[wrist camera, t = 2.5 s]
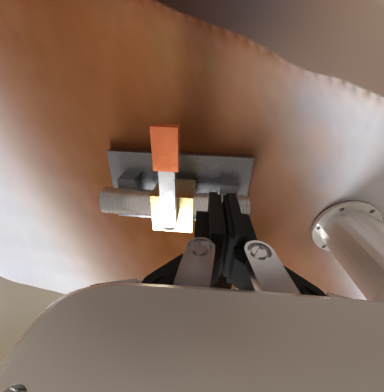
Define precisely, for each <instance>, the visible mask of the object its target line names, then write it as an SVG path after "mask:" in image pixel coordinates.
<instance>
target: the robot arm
mask: <svg viewBox="0 0 384 392" xmlns="http://www.w3.org/2000/svg"><path fill="white" fill-rule="evenodd" d="M311 237H312V239H313V241H314V242H315V244H316V245H317V246H318V247H319V248H321V249H323V250H325V251H329V252H332V253H333V255H334V256H335V257H336V259H337V260H338V261H339V263H340V264H341V265H342V267H343V268H344V269H345V271H346V272H347V273H348V275H349V276H350V277H351V279H352V280H353V281H354V283H355V284H356V285H357V287H358V288H359V289H360V291H361V292H362V293H363V295H364V296H365V297H366V299H367V300H368V301H367V300H359V299H352V298H348V297H344V296H340V295H336V294H333V293H329V292H328V293H327V295H326V294H324V292H323V291H321V290H320V289H319V288H318V287H316V286H315V285H313V284H311V283H310V282H308V281H307V280H305V279H304V278H302V277H301V276H299V275H297V274H296V273H294V272H293V271H291V270H290V269H288V268H287V267H285V266H283V264H282V263H281V261H280V259H279V258H278V256H277V255H276V253H275V251H274V250H273V249H272V247H271V246H269V245H268V244H266V243H264V242H262V241H257V238H256V235H255V232H254V229H253V226H252V223H251V220H250V217H249V215H248V214H242V213H241V210H240V206H239V203H238V199H237V196H236V193H227V194H226V195H223V201H222V198H221V195H218V192H209V199H208V211H196V223H195V236H194V238H192V239H191V240H189V241H188V243H187V244H186V247H185V250H184V253H183V254H181V255H180V256H178V257H176V258H175V259H173V260H172V261H170V262H168V263H167V264H165V265H164V266H162V267H160V268H159V269H157V270H156V271H154V272H152V273H151V274H149V275H148V276H147V277H145V278H144V280H139V281H138V280H137V278H136V279H128V280H121V281H114V282H106V283H99V284H94V285H91V286H89V287H86V288H82V289H78V290H76V291H73V292H70V293H68V294H66V295H64V296H62V297H60V298H58V299H57V300H56V301H54V302H53V303H52V304H50V305H49V306H48V307H47V308H46V309H45V310H44V311H43V312H42V313H41V314H40V315H39V316H38V317H37V318H36V319H35V321H34V322H33V323H32V324H31V325H30V326H29V328H28V329H27V330H26V331H25V333H24V334H23V335H22V336H21V337H20V339H19V340H18V341H17V342H16V344H15V345H14V346H13V348H12V349H11V350H10V352H9V353H8V354H7V356H6V357H5V358H4V360H3V361H2V362H1V364H0V392H384V224H382V216H381V213H380V212H379V211H378V210H377V209H376V208H375V207H374V206H372V205H370V204H368V203H365V202H361V201H349V202H343V203H340V204H337V205H334V206H332V207H330V208H328V209H327V210H325V211H324V212H322V213H321V214H320V215H319V216H318V217H317V218H316V220H315V221H314V223H313V225H312V228H311ZM221 268H222V272H223V276H226V279H227V283H231V284H233V285H234V286H235V289H223V288H211V287H212V286H213V285H214V284H215V283H217V282H218V277H219V276H220V274H221Z"/></svg>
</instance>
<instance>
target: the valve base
mask: <svg viewBox="0 0 384 392" xmlns="http://www.w3.org/2000/svg"><path fill="white" fill-rule="evenodd" d="M107 156H108V161H109V167H110V172H111V177H112V182H113V187H114V188H112V187H105V188H103V190H102V191H101V193H100V197H99V206H100V209H101V211H102V212H103V213H116V214H119V216H133V217H148V218H152V225H153V230H159V231H168V230H165V229H164V228H163V227H161V211H160V196H159V180H158V171H153V163H152V151H147V150H127V149H109V150H107ZM254 159H255V158H254V157H253V156H249V155H229V154H209V153H188V152H180V169H179V172H176V188H177V215H178V220H177V224H176V228H175V229H174V230H172V231H173V232H188V233H192V229H193V221H196V211H208V199H209V192H218V195H221V198H222V201H223V195H226V194H227V193H236V196H237V199H238V203H239V206H240V210H241V213H242V214H248V215H249V217H250V198H249V196H247V195H248V190H249V184H250V179H251V174H252V169H253V164H254Z"/></svg>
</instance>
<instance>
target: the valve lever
mask: <svg viewBox="0 0 384 392" xmlns="http://www.w3.org/2000/svg"><path fill="white" fill-rule="evenodd" d="M150 137H151V150H152V163H153V171H158V180H159V196H160V211H161V227H163V228H164V229H165V230H168V231H172V230H174V229H175V228H176V224H177V220H178V215H177V188H176V172H179V169H180V125H176V124H153V125H151V126H150Z"/></svg>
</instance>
